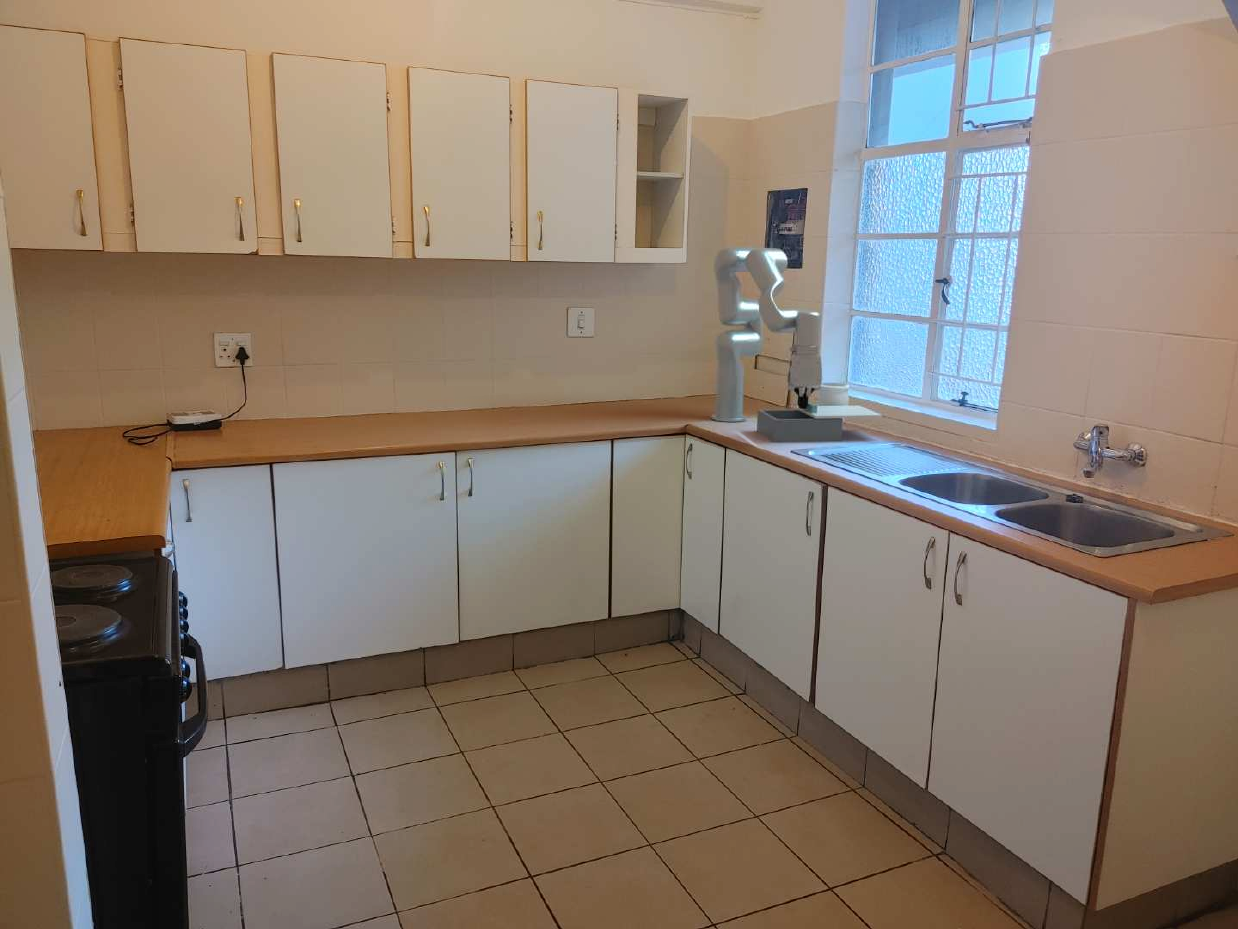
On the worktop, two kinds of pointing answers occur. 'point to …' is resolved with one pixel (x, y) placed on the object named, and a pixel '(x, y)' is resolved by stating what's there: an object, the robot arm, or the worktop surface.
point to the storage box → (797, 426)
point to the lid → (838, 411)
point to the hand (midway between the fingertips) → (802, 408)
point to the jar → (833, 395)
